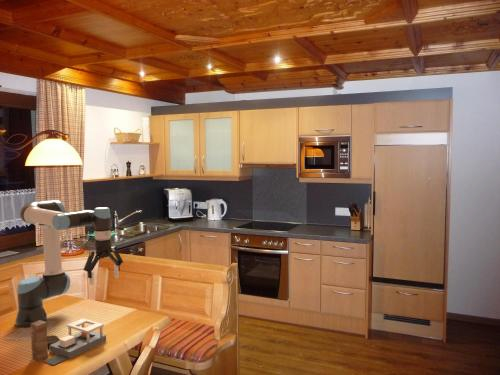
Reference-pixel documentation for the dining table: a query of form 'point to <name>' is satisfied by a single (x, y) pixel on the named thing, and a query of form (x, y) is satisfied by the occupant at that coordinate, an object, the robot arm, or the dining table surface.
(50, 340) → the rock
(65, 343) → the on button
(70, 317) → the dining table surface
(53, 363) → the pad
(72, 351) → the two-tier post stand
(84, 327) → the plunger
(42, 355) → the brown rectangular block
